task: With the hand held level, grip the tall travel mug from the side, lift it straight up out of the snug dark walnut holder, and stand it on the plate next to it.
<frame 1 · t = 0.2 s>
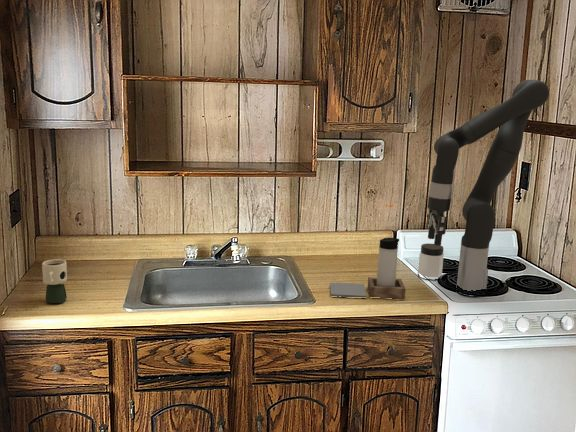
hand: (434, 241, 207), 18 cm above the worktop, tool pointing down, fingers open, 8 cm apart
travel mug: (385, 294, 207), resting in walnut holder
walnut holder: (385, 293, 207), on the worktop
character mug: (56, 302, 190), on the worktop
cover plate: (347, 292, 207), on the worktop
jar: (429, 277, 227), on the worktop
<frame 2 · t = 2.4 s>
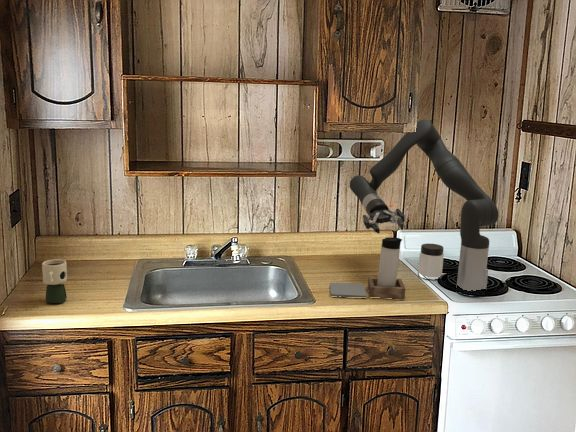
hand: (390, 228, 208), 21 cm above the worktop, tool tilted 75°, fingers open, 8 cm apart
nothing on the worktop moved.
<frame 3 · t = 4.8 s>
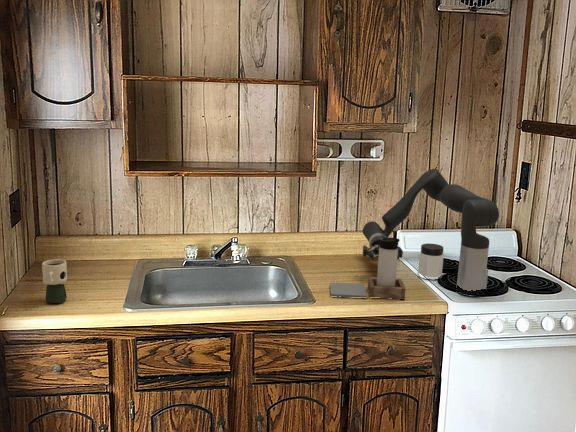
hand: (384, 257, 212), 11 cm above the worktop, tool horizontal, fingers open, 8 cm apart
nothing on the worktop moved.
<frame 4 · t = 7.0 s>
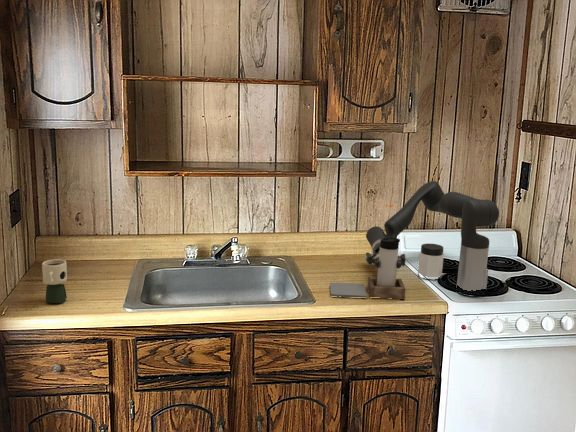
hand: (388, 265, 202), 11 cm above the worktop, tool horizontal, fingers closed on travel mug, 6 cm apart
travel mug: (385, 294, 207), resting in walnut holder, touching gripper
everything else where it was.
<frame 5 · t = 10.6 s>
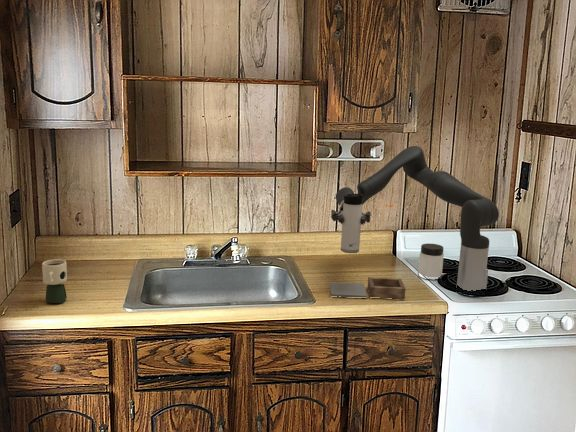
hand: (352, 221, 199), 26 cm above the worktop, tool horizontal, fingers closed on travel mug, 6 cm apart
travel mug: (350, 251, 204), point 14 cm above the worktop, touching gripper
everything else where it was.
when the fingers open (13 cm above the worktop, at t = 14.3 s): travel mug stays where it is, resting on cover plate.
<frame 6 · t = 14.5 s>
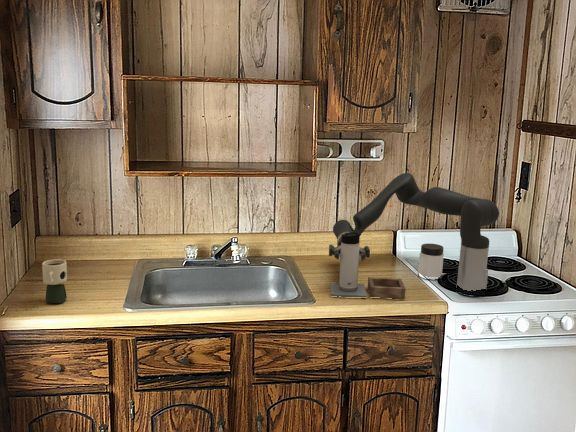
hand: (350, 257, 202), 13 cm above the worktop, tool horizontal, fingers open, 8 cm apart
travel mug: (348, 289, 207), point 1 cm above the worktop, touching cover plate
everything else where it was.
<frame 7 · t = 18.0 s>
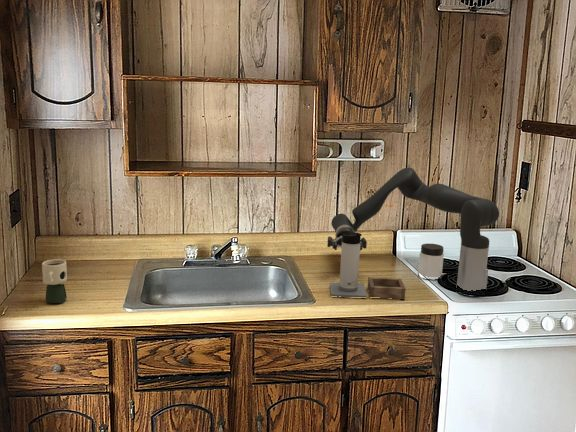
hand: (347, 247, 214), 13 cm above the worktop, tool horizontal, fingers open, 8 cm apart
nothing on the worktop moved.
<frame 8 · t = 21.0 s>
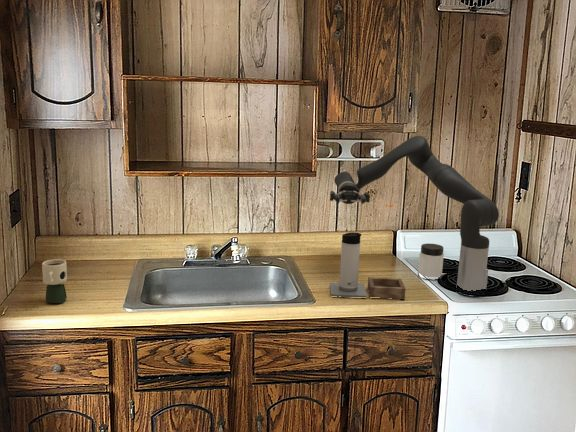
hand: (350, 200, 211), 30 cm above the worktop, tool horizontal, fingers open, 8 cm apart
nothing on the worktop moved.
at the end: travel mug inside the target area on the cover plate (0.4 cm from its centre), point 1.0 cm above the cover plate's base; travel mug tilted 0°; the gripper is holding nothing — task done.
